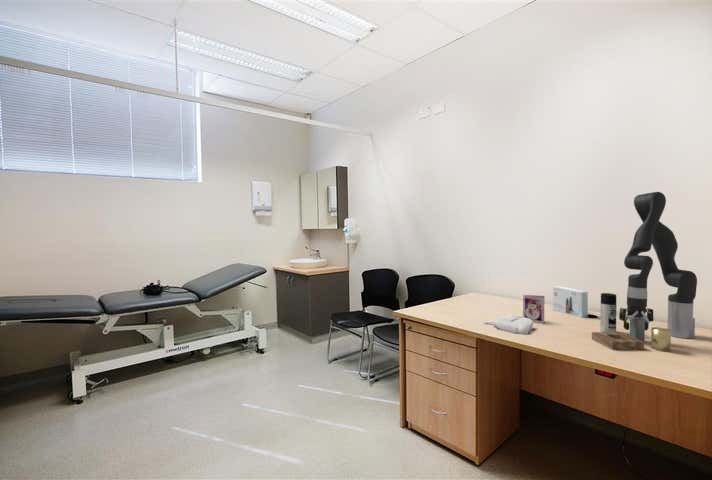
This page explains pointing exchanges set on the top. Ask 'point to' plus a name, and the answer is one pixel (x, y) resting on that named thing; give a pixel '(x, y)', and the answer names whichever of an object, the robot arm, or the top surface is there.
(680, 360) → the top surface
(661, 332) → the cylinder
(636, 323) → the square bit
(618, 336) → the bore block
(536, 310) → the greeting card
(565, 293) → the skincare box
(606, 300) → the spray can
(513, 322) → the lung model
